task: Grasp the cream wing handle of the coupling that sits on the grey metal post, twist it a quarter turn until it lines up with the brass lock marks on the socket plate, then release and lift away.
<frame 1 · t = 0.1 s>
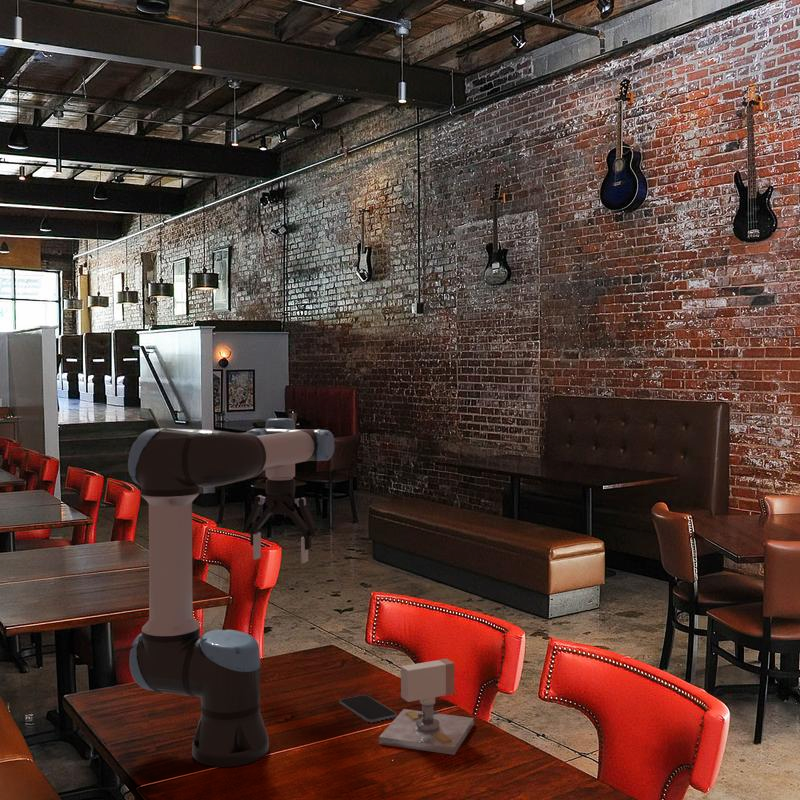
hand: (280, 560, 227), 28 cm above the table, fingers open, 13 cm apart
coupling: (427, 683, 185), point 11 cm above the table, hinge at 0.0°
socket: (427, 734, 186), on the table
smartphone: (367, 711, 200), on the table
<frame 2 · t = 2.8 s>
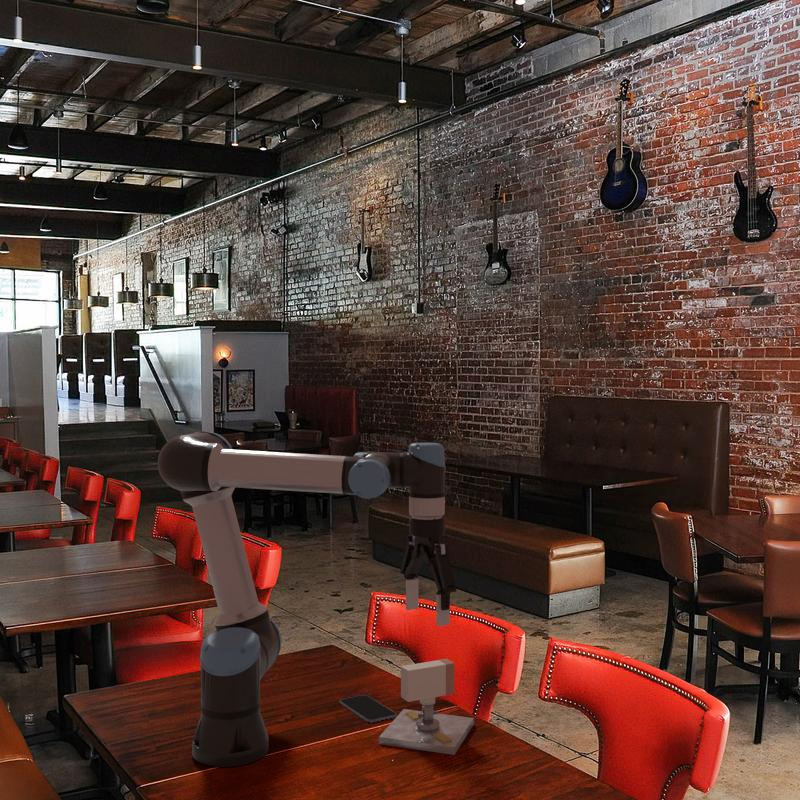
hand: (427, 617, 185), 25 cm above the table, fingers open, 13 cm apart
nothing on the table moved.
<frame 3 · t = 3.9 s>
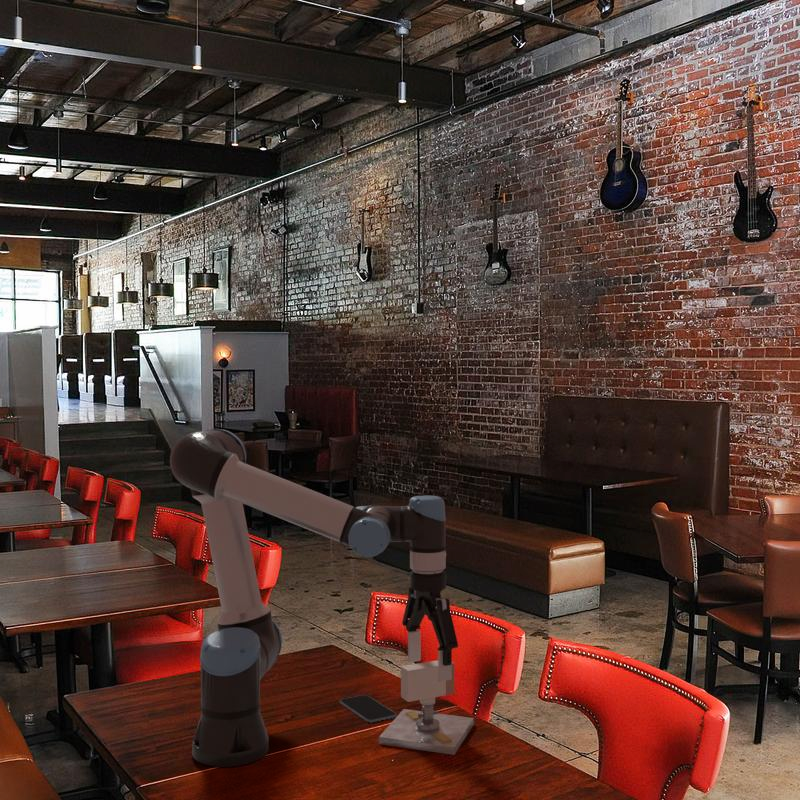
hand: (429, 670, 185), 14 cm above the table, fingers open, 13 cm apart
nothing on the table moved.
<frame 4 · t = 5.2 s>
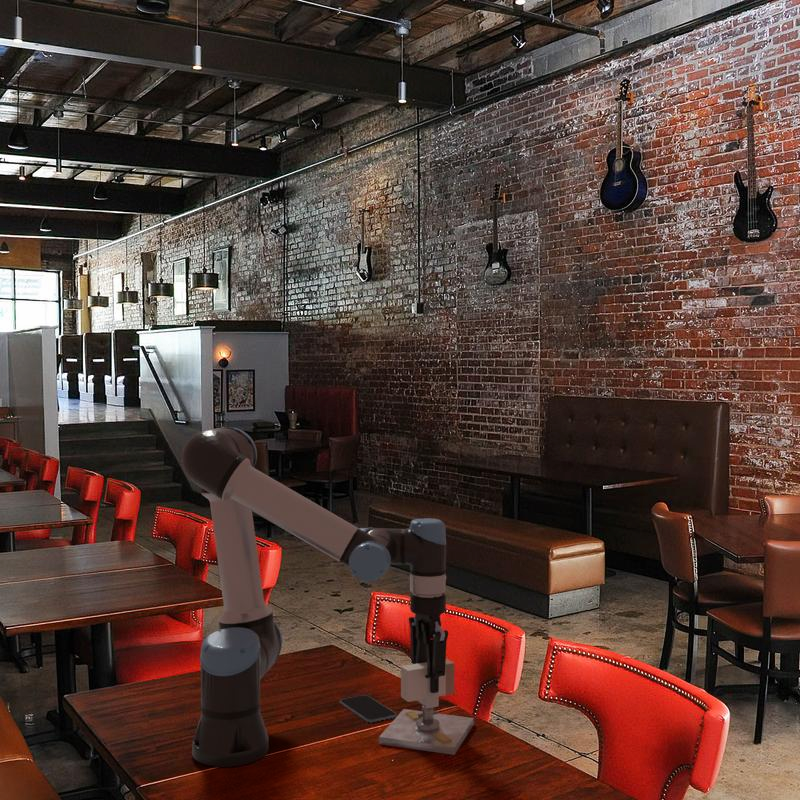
hand: (427, 703, 185), 7 cm above the table, fingers closed on coupling, 3 cm apart
coupling: (427, 683, 185), point 11 cm above the table, hinge at 0.0°, touching gripper
everything else where it was.
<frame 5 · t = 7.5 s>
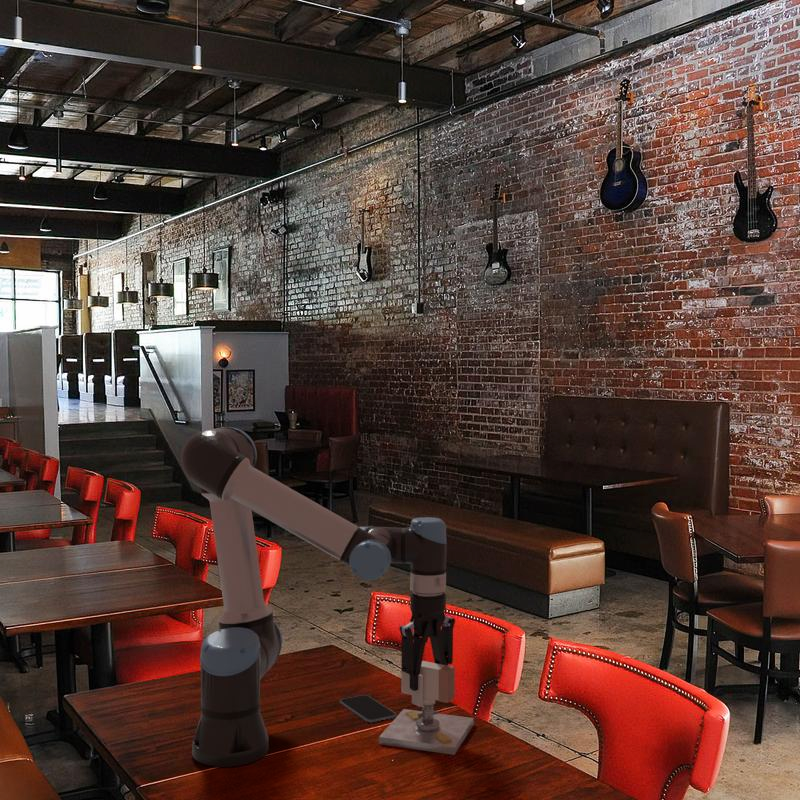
hand: (427, 701, 186), 7 cm above the table, fingers closed on coupling, 5 cm apart
coupling: (427, 683, 185), point 11 cm above the table, hinge at 56.5°, touching gripper
everything else where it was.
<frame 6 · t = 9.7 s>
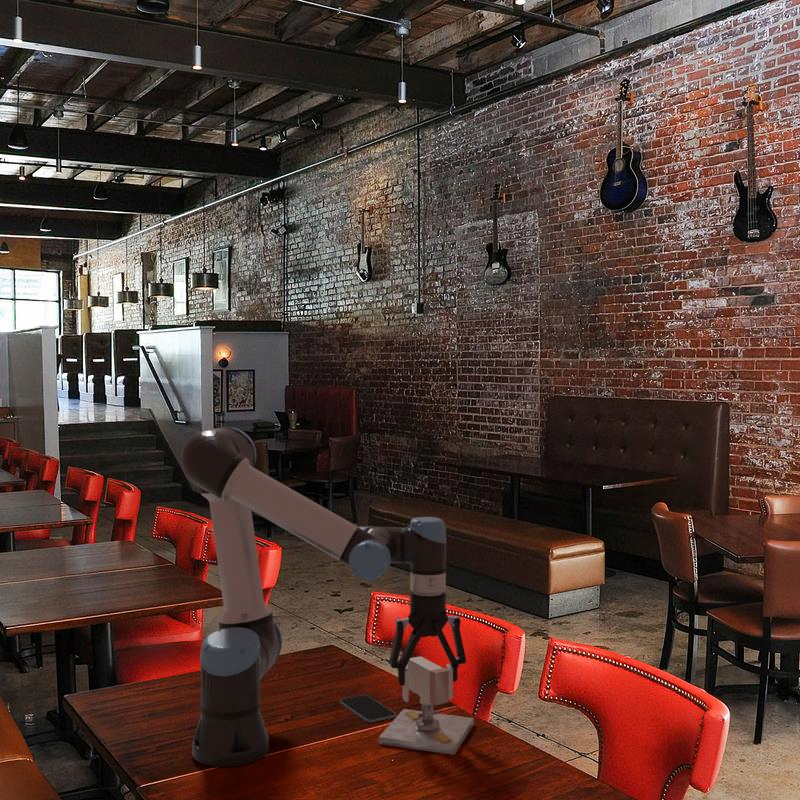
hand: (427, 698, 185), 8 cm above the table, fingers open, 9 cm apart
coupling: (427, 683, 185), point 11 cm above the table, hinge at 85.7°
everything else where it was.
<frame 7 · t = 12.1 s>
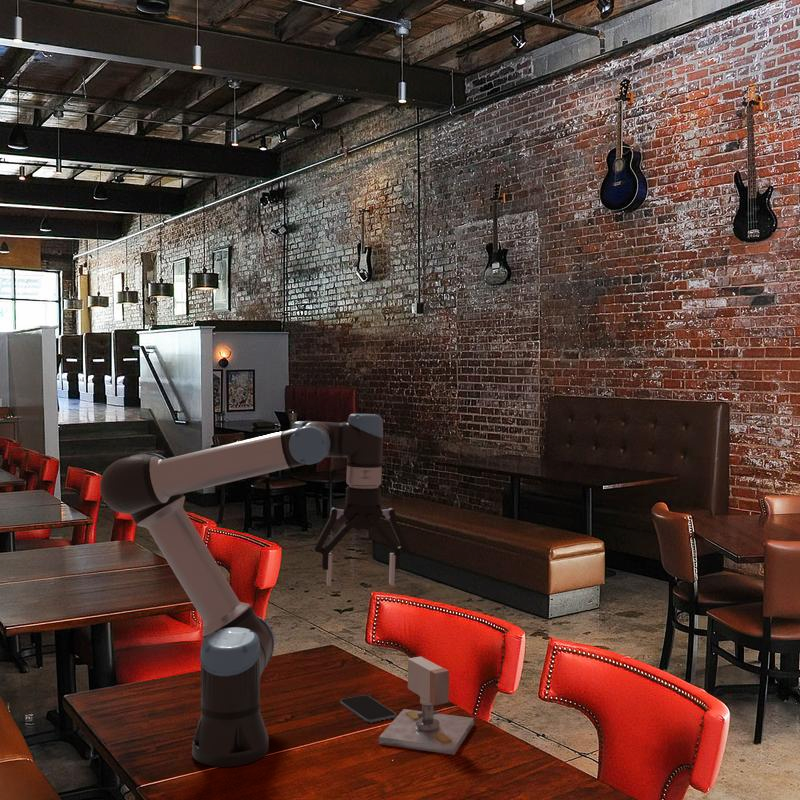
hand: (360, 584, 189), 31 cm above the table, fingers open, 13 cm apart
nothing on the table moved.
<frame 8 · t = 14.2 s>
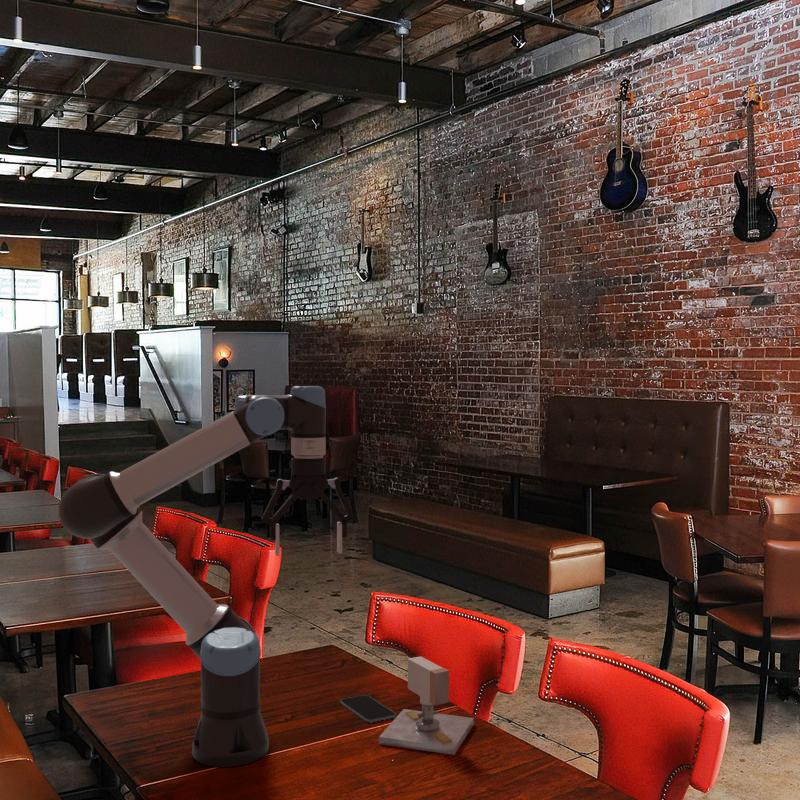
hand: (308, 553, 192), 37 cm above the table, fingers open, 13 cm apart
nothing on the table moved.
at the end: coupling at +86° (first picture: +0°); the gripper is holding nothing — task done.
